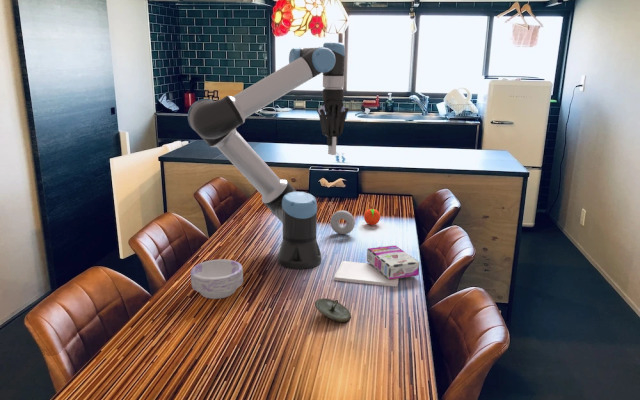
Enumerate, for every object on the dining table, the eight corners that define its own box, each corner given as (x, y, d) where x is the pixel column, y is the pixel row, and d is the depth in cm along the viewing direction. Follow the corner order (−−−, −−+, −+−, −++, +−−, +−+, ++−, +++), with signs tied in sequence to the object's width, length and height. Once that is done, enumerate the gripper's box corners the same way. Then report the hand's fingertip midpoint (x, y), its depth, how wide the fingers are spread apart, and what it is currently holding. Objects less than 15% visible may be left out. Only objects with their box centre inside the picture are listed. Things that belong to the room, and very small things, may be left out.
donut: (355, 234, 204) (356, 210, 202) (353, 236, 201) (354, 212, 199) (331, 231, 207) (331, 208, 204) (329, 234, 204) (329, 210, 201)
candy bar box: (366, 261, 174) (388, 280, 159) (366, 248, 173) (389, 265, 158) (395, 258, 178) (419, 276, 163) (396, 244, 177) (420, 261, 162)
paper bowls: (188, 286, 156) (186, 262, 154) (236, 278, 162) (235, 255, 160) (196, 308, 143) (195, 282, 140) (249, 298, 148) (248, 273, 146)
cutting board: (342, 263, 175) (342, 260, 174) (400, 269, 170) (400, 266, 170) (334, 280, 162) (334, 277, 161) (397, 286, 157) (397, 283, 157)
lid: (314, 307, 144) (315, 291, 143) (349, 307, 144) (350, 291, 143) (314, 326, 134) (314, 309, 132) (352, 326, 134) (352, 309, 132)
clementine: (380, 228, 212) (381, 211, 210) (364, 227, 212) (364, 211, 210) (379, 222, 220) (379, 206, 218) (363, 221, 220) (363, 206, 218)
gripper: (340, 87, 186) (339, 151, 192) (312, 88, 178) (311, 154, 184) (354, 88, 180) (352, 154, 186) (325, 89, 172) (324, 157, 179)
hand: (332, 154), depth 185 cm, fingers closed
